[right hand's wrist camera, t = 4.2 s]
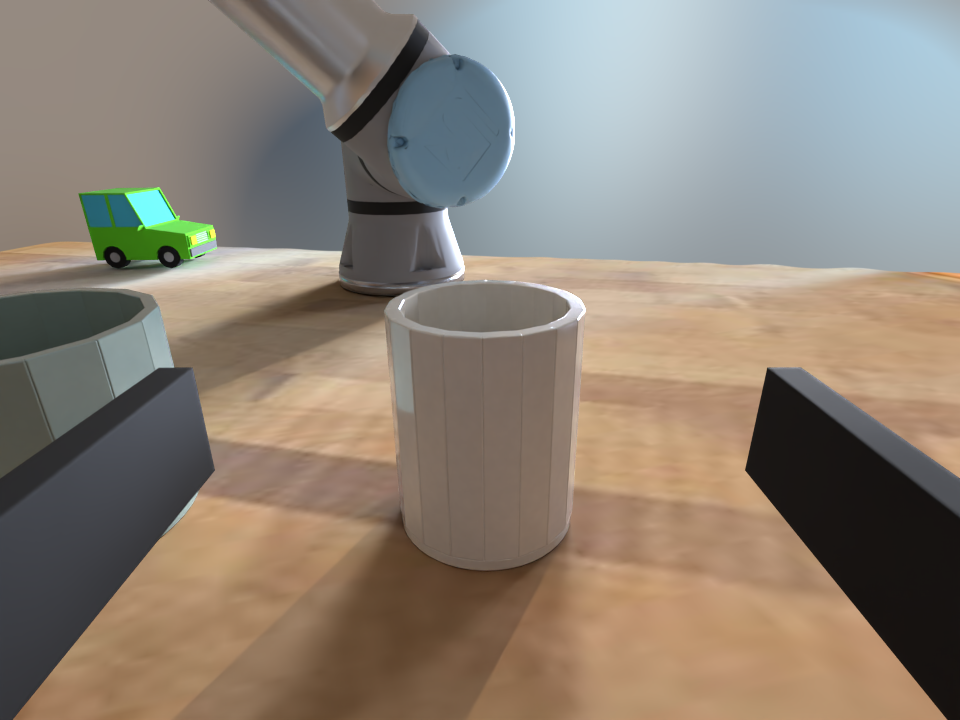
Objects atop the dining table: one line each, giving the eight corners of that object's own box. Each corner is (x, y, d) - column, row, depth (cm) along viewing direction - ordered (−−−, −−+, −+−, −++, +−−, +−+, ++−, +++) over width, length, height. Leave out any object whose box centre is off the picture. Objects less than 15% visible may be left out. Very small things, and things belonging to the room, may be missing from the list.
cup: (461, 448, 31) (456, 272, 27) (596, 491, 27) (613, 293, 23) (365, 528, 24) (341, 314, 21) (523, 600, 20) (529, 353, 17)
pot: (128, 430, 33) (82, 278, 29) (248, 488, 27) (210, 308, 24) (-141, 542, 24) (-255, 342, 20) (-43, 663, 18) (-176, 415, 15)
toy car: (190, 269, 73) (174, 193, 69) (94, 270, 73) (72, 194, 70) (224, 254, 83) (211, 186, 79) (139, 255, 83) (122, 187, 79)
